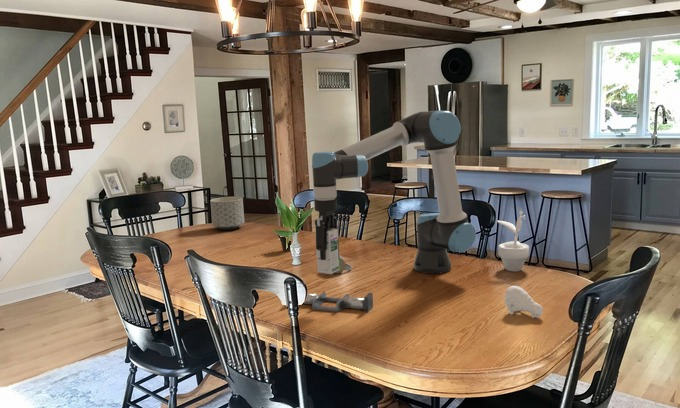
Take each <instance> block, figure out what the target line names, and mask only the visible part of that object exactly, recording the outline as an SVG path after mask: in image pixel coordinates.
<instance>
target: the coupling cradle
mask: <svg viewBox="0 0 680 408" xmlns="http://www.w3.org/2000/svg"><path fill="white" fill-rule="evenodd" d="M306 293H307V292H306ZM325 302H332V303H335V304H336V305H335V306H336V307H334V306H323V305H322V304H324V303H325ZM304 304H305V305H311V306H312V311H313V310H314V311H325V312H333V313H340V311H342V310H343V309H345V308H347V309H355V310H356V309H357V310H364V313H369V312H370V311H371V310H372V309H373V308H374V298H373V292H368V293H367V294H366V295H365V296H364V297H362V298H361V297H352V296H350V294H349V293H346V294H345V295H344V296H342V297H341V298H339V297H331V296H330V297H329V296H327V293H326V291H323V292H322V293H320V294H318V293H317V294H316V293H307V298H306V301H305V303H304ZM304 304H303V305H304Z"/></svg>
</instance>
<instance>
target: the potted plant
mask: <svg viewBox="0 0 680 408" xmlns="http://www.w3.org/2000/svg"><path fill="white" fill-rule="evenodd" d="M518 213H519V215H520V216H519V217H518V218H517V220H516V224H515V225H514V224H513V223H512V222H507V221H505V220H504V221H503V220H496V222H497V223H498V224H499V225H502V226H503V227H506V228H507V229H508V230H509V231H510V232H511V233H513V234H514V237H513V240H512V241H507V242H504V243H500V244H499V245H498V249H497V251H498V257H500V258H501V261H502V265H503V267H504V269H505V270H506V271H508V272H515V273H516V272H520V271H522V270H523V267H524V264H525V262H526V259H527V258H529V256H530V245H528V244H527V243H522V242H520V241H519V240H518V237H519V232H520V230H521V229H522V226H523V225H522V224H523V222H522V219H523V220H524V221H525V220H526V215H525V214H524V211H523V210H522V209H520V211H518ZM523 214H524V215H523Z"/></svg>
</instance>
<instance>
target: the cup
mask: <svg viewBox="0 0 680 408" xmlns="http://www.w3.org/2000/svg"><path fill="white" fill-rule="evenodd" d="M277 237H278V238H279V241H280V244H281V248H282V251H283V252H284V253H287V252H288V253H289V252H291V251H290V245H291V241H289V243H288V248H287V249H286V238H285V237H280V236H279V235H278V234H277Z"/></svg>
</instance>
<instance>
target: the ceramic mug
mask: <svg viewBox="0 0 680 408" xmlns="http://www.w3.org/2000/svg"><path fill="white" fill-rule="evenodd" d="M339 255H340V270H338V271H336V272H334V273H333V274H341V273H342V272H344V271H351V270H352V268H353V266H352V265H350V264H348V263H346V260H345V259H344V257H342V255H341V254H340V253H339Z"/></svg>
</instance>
